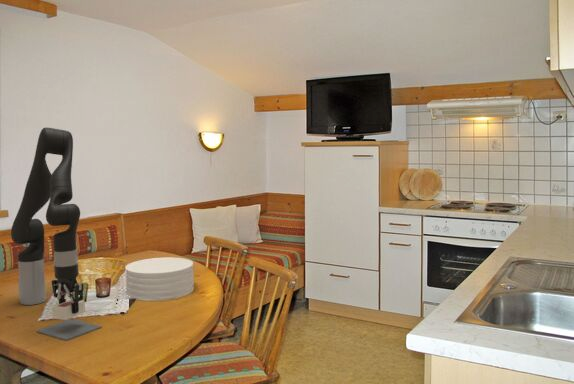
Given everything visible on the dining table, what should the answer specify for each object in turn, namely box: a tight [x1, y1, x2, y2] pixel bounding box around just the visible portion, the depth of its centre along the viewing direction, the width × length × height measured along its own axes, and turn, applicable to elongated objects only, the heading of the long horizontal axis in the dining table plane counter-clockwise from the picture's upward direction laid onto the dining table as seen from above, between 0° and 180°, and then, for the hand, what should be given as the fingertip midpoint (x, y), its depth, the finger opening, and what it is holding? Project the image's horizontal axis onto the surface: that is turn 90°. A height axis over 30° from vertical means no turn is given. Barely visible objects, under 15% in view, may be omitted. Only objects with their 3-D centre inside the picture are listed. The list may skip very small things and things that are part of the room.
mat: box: [35, 318, 103, 342], centre depth 183 cm, size 16×14×1 cm
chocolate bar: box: [105, 298, 136, 315], centre depth 207 cm, size 9×1×18 cm
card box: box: [51, 299, 86, 321], centre depth 183 cm, size 9×6×4 cm, turn 158°
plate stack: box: [125, 256, 195, 302], centre depth 228 cm, size 28×28×12 cm
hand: (68, 311), depth 183 cm, fingers closed on card box, 6 cm apart
